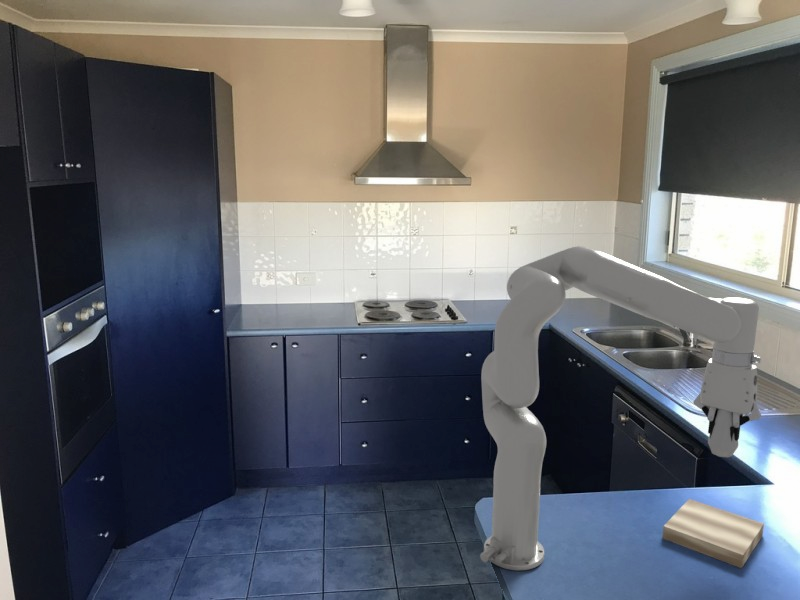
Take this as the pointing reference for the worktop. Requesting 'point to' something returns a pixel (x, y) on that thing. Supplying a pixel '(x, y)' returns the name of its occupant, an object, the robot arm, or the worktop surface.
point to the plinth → (714, 532)
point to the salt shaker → (722, 435)
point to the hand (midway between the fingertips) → (722, 439)
